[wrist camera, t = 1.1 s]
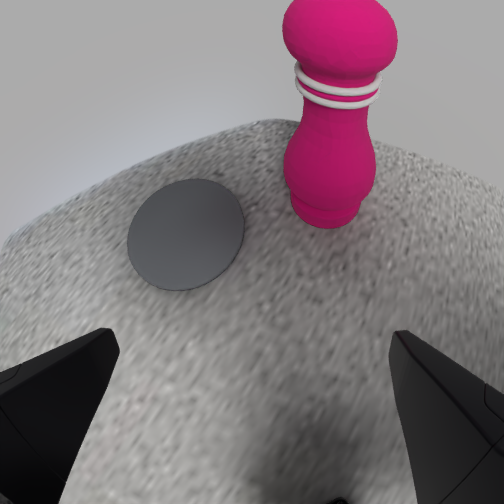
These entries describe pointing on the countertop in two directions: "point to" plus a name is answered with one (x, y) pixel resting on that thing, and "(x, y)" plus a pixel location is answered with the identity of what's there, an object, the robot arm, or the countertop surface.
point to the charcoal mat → (186, 234)
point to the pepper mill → (335, 103)
